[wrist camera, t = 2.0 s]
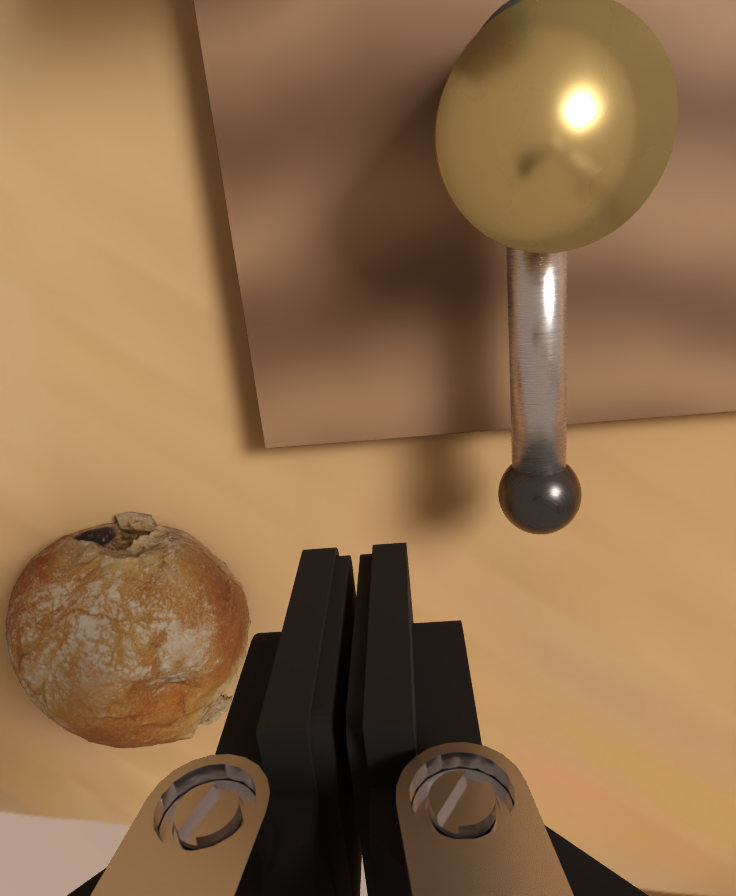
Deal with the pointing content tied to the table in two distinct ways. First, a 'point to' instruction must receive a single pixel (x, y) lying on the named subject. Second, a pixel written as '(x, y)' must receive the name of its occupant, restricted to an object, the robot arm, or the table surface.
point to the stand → (450, 228)
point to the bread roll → (128, 633)
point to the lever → (551, 193)
